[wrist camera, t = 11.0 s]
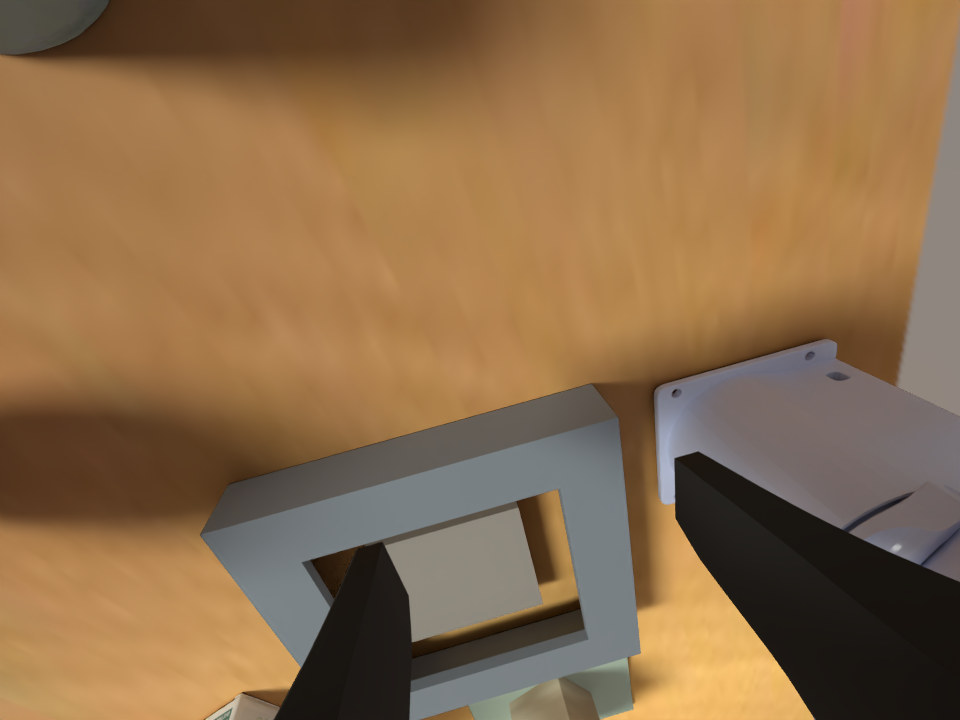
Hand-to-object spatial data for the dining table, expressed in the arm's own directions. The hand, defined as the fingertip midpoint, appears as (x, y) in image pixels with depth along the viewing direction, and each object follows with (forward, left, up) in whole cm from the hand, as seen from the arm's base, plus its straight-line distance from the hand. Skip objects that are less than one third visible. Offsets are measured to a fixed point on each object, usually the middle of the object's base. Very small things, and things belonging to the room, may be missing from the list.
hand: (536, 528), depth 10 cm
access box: (+4, +12, -10) cm, 16 cm away
